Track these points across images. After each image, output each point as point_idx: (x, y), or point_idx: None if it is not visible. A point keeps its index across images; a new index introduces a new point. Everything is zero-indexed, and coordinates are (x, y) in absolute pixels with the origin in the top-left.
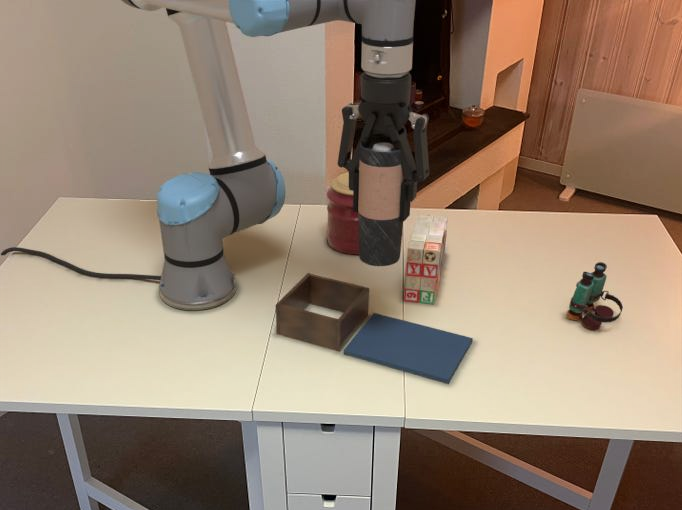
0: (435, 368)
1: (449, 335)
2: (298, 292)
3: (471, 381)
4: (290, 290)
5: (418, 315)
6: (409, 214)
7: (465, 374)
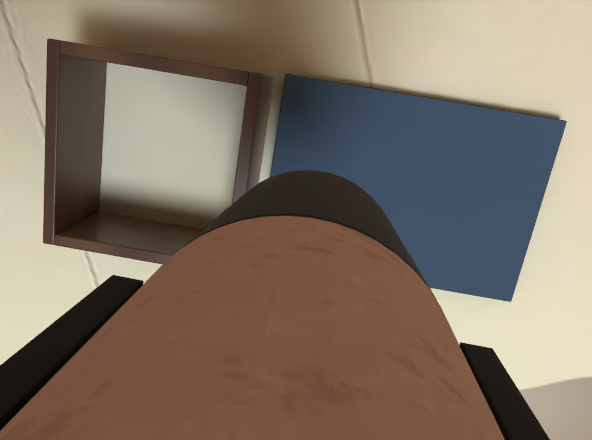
0: (477, 271)
1: (503, 127)
2: (67, 130)
3: (557, 275)
4: (45, 161)
5: (405, 27)
6: (493, 356)
7: (543, 254)
